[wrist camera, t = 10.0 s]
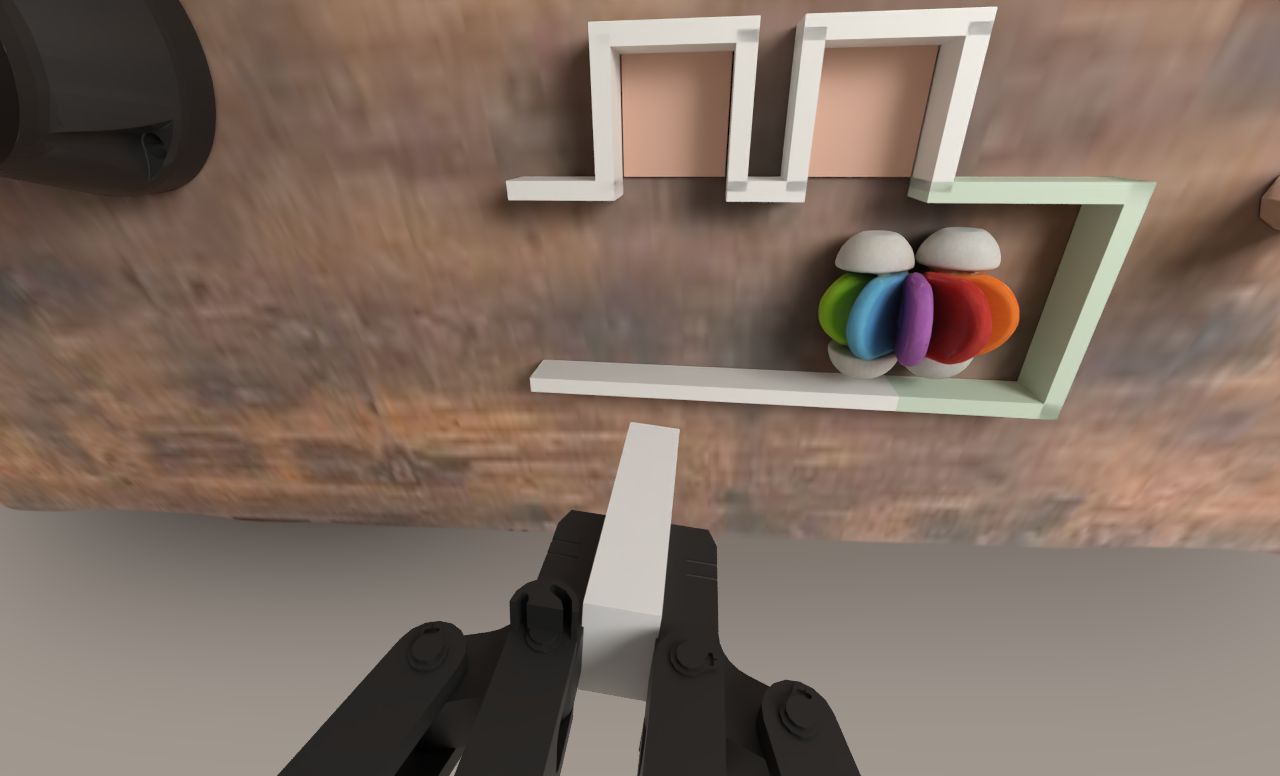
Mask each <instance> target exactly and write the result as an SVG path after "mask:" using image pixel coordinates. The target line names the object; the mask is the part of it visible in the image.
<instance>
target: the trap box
mask: <svg viewBox="0 0 1280 776" xmlns="http://www.w3.org/2000/svg"><path fill="white" fill-rule="evenodd" d="M996 11H997V7H977V8H950V9H923V10H896V11H869V12H842V13H815V14H805V16H804V17H803V18H802V19H801V21H800V22H799V23H798V25H797V26H796V35H795V45H794V54H793V63H792V73H791V82H790V91H789V101H788V110H787V119H786V128H785V138H784V147H783V156H782V166H781V175H780V177H760V176H748V166H749V153H750V141H751V128H752V116H753V104H754V91H755V79H756V66H757V54H758V41H759V29H760V17H761V15H760V16H733V17H706V18H679V19H652V20H625V21H598V22H588V30H589V51H590V73H591V95H592V117H593V139H594V160H595V176H524V177H519V178H515V179H511V180H507V181H506V185H507V194H508V200H552V201H615V200H616V199H618V198H619V197H621V196H622V195H623V160H622V117H621V73H620V55H621V62H622V108H623V153H624V177H725V166H726V149H727V133H728V117H729V101H730V84H731V68H732V52H733V51H734V66H733V82H732V97H731V113H730V129H729V145H728V161H727V177H726V193H725V196H726V202H804V201H805V194H806V186H807V178H808V177H911V180H910V185H909V190H908V194H907V196H909V197H911V198H914V199H917V200H920V201H923V202H926V203H1004V204H1082V205H1081V208H1080V211H1079V214H1078V216H1077V219H1076V222H1075V224H1074V227H1073V230H1072V233H1071V235H1070V238H1069V241H1068V244H1067V246H1066V249H1065V252H1064V255H1063V257H1062V260H1061V263H1060V265H1059V268H1058V271H1057V274H1056V276H1055V279H1054V282H1053V285H1052V287H1051V290H1050V293H1049V295H1048V298H1047V301H1046V304H1045V306H1044V309H1043V312H1042V315H1041V317H1040V320H1039V323H1038V326H1037V328H1036V331H1035V334H1034V336H1033V339H1032V342H1031V345H1030V347H1029V350H1028V353H1027V356H1026V358H1025V361H1024V364H1023V367H1022V369H1021V372H1020V375H1019V377H1018V380H1017V381H1000V380H978V379H956V378H944V379H928V378H923V377H913V376H891V375H881V376H879V377H876V378H872V379H856V378H852V377H849V376H846V375H845V374H843V373H825V372H804V371H782V370H760V369H738V368H716V367H695V366H673V365H651V364H629V363H607V362H585V361H564V360H543V361H542V362H541V363H540V365H539V366H538V367H537V369H536V370H535V371H534V373H533V374H532V375H531V377H530V385H531V392H550V393H568V394H587V395H605V396H624V397H642V398H661V399H680V400H698V401H717V402H735V403H754V404H772V405H791V406H809V407H828V408H847V409H865V410H884V411H902V412H921V413H939V414H958V415H977V416H995V417H1014V418H1032V419H1051V420H1057V418H1058V416H1059V413H1060V411H1061V408H1062V406H1063V404H1064V401H1065V399H1066V397H1067V394H1068V392H1069V389H1070V387H1071V385H1072V382H1073V380H1074V378H1075V375H1076V373H1077V371H1078V368H1079V366H1080V363H1081V361H1082V359H1083V356H1084V354H1085V352H1086V349H1087V347H1088V344H1089V342H1090V340H1091V337H1092V335H1093V333H1094V330H1095V328H1096V325H1097V323H1098V321H1099V318H1100V316H1101V314H1102V311H1103V309H1104V307H1105V304H1106V302H1107V299H1108V297H1109V295H1110V292H1111V290H1112V288H1113V285H1114V283H1115V280H1116V278H1117V276H1118V273H1119V271H1120V269H1121V266H1122V264H1123V261H1124V259H1125V257H1126V254H1127V252H1128V250H1129V247H1130V245H1131V243H1132V240H1133V238H1134V235H1135V233H1136V231H1137V228H1138V226H1139V224H1140V221H1141V219H1142V216H1143V214H1144V212H1145V209H1146V207H1147V205H1148V202H1149V200H1150V197H1151V195H1152V193H1153V190H1154V188H1155V186H1156V183H1157V182H1152V181H1144V180H1136V179H1127V178H1119V177H955V174H956V170H957V166H958V162H959V158H960V154H961V150H962V146H963V142H964V138H965V134H966V130H967V126H968V122H969V118H970V114H971V110H972V106H973V102H974V98H975V95H976V91H977V87H978V83H979V79H980V75H981V71H982V67H983V63H984V59H985V55H986V51H987V47H988V43H989V39H990V35H991V31H992V27H993V23H994V19H995V15H996ZM939 45H940V46H939ZM938 48H939V51H938ZM937 52H938V56H937ZM936 57H937V60H936ZM935 62H936V65H935ZM934 66H935V69H934ZM933 71H934V74H933ZM932 76H933V79H932ZM931 80H932V83H931ZM930 85H931V88H930ZM929 89H930V93H929ZM928 94H929V97H928ZM927 99H928V102H927ZM926 103H927V106H926ZM925 108H926V111H925ZM924 113H925V116H924ZM923 117H924V120H923ZM922 122H923V125H922ZM921 127H922V130H921ZM920 131H921V134H920ZM919 136H920V139H919ZM918 140H919V143H918ZM917 145H918V148H917ZM916 150H917V153H916ZM915 154H916V157H915ZM914 159H915V162H914ZM913 164H914V167H913ZM912 168H913V171H912ZM911 173H912V176H911Z"/></svg>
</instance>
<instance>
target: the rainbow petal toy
mask: <svg viewBox="0 0 1280 776" xmlns="http://www.w3.org/2000/svg"><path fill="white" fill-rule="evenodd" d="M915 260H916V261H917V262H918V263H919V264H923V265H925V266H927V267H929V269H923V270H922V272H921V273H917V272H915V273H908V270H910V269H912V268H913V267H914V264H915ZM1000 262H1001V254H1000V249H999V246H998V244H997V242H996V241H995V239H994V238H993V237H992V236H991V235H990V234H989V233H988V232H987V231H985V230H983V229H978V228H971V227H947V228H943V229H940V230H938V231H936V232H935V233H933V234H932V235H930V236H929V237H928V238H927V239H926V240H925V241H924V242H923V243H922V244H921V246H920V247H919V249H918V251H917V253H916V255H915V259H914V253H913V250H912V248H911V246H910V244H909V243H908V241H907V240H906V239H905V238H904V237H903V236H901V235H900V234H898V233H896V232H892V231H884V230H870V231H863V232H860V233H857V234H856V235H854V236H853V237H851V238H850V239H849V240H848V241H847V242H846V243H845V244H844V245H843V246H842V247H841V249H840V251H839V252H838V255H837V257H836V260H835V265H836V267H838V268H840V269H843V270H846V271H851V272H847V273H845V274H843V275H842V276H841V277H840V278H838V279H837V280H836V281H835V282H834V283H833V284H832V285H831V286H830V287H829V288H828V289H827V290H826V292H825V293H824V295H823V297H822V299H821V301H820V304H819V311H818V316H819V322H820V324H821V326H822V328H823V330H824V331H825V332H826V333H827V334H828V335H829V336H830V337H831V338H832V339H833V340H832V341H831V342H830V343H829V344H828V353H829V357H830V359H831V361H832V363H833V365H834V366H835V367H836V368H837V369H838V370H839V371H840V372H841V373H843V374H845V375H846V376H849V377H852V378H856V379H872V378H876V377H879V376H881V375H883V374H885V373H886V372H888V371H889V370H890V369H891V368H892V367H893V366H894V365H895V363H896V362H897V360H898V362H899V363H900V364H901V365H903V366H905V367H906V368H907V369H908V370H909V371H910V372H912V373H913V374H915V375H917V376H920V377H923V378H928V379H944V378H948V377H951V376H954V375H956V374H958V373H960V372H961V371H962V370H964V369H965V368H966V367H967V366H968V365H969V364H970V362H971V361H972V359H973V357H974V356H978V355H981V354H985V353H987V352H990V351H992V350H994V349H996V348H997V347H999V346H1001V345H1002V344H1003V343H1004V342H1005V341H1006V340H1007V339H1008V338H1009V337H1010V336H1011V335H1012V334H1013V332H1014V331H1015V329H1016V327H1017V325H1018V323H1019V306H1018V302H1017V300H1016V298H1015V296H1014V294H1013V292H1012V291H1011V290H1010V288H1009V287H1008V286H1007V285H1005V284H1004V283H1003V282H1001V281H1000V280H998V279H996V278H995V277H992V276H990V275H987V274H986V273H985V272H987V271H988V270H992V269H995V268H997V267H998V266H999V265H1000Z"/></svg>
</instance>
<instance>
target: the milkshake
mask: <svg viewBox="0 0 1280 776" xmlns="http://www.w3.org/2000/svg"><path fill="white" fill-rule="evenodd" d="M1260 218H1262V219H1263V220H1264V221H1265V222H1266V223H1268V224H1269V225H1270V226H1271V227H1272V228H1274V229H1277V230H1280V176H1279V177H1278V178H1277V179H1276V180H1275V181H1274V183H1273V184H1272V185H1271V186H1270V188H1269V189H1268V190H1267V191H1266V193H1265V194H1264V195H1263V196H1262V198H1261V208H1260Z"/></svg>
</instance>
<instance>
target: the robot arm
mask: <svg viewBox="0 0 1280 776" xmlns="http://www.w3.org/2000/svg"><path fill="white" fill-rule="evenodd" d="M215 121H216V109H215V97H214V89H213V84H212V79H211V75H210V71H209V67H208V64H207V60H206V57H205V54H204V51H203V49H202V46H201V43H200V41H199V39H198V36H197V34H196V32H195V29H194V27H193V25H192V23H191V21H190V19H189V17H188V15H187V14H186V12H185V10H184V8H183V6H182V5H181V3H180V1H179V0H0V176H1V177H6V178H11V179H17V180H22V181H28V182H33V183H39V184H44V185H50V186H55V187H60V188H66V189H71V190H77V191H82V192H88V193H93V194H99V195H106V196H135V195H144V194H153V193H161V192H166V191H170V190H173V189H176V188H178V187H180V186H182V185H184V184H185V183H187V182H188V181H190V180H191V179H192V178H193V177H194V176H195V175H196V174H197V173H198V172H199V170H200V169H201V168H202V166H203V165H204V163H205V161H206V159H207V157H208V155H209V152H210V149H211V146H212V142H213V138H214V132H215ZM679 431H680V429H675V428H668V427H661V426H655V425H648V424H641V423H634V422H630V426H629V430H628V434H627V437H626V441H625V445H624V449H623V453H622V457H621V460H620V464H619V468H618V472H617V476H616V479H615V483H614V487H613V491H612V495H611V499H610V502H609V506H608V510H607V514H606V515H601V514H595V513H588V512H582V511H575V510H571V511H570V512H569V513H568V514H567V515H566V516H565V517H564V518H563V519H562V520H561V521H560V522H559V523H558V526H557V528H556V531H555V534H554V536H553V540H552V542H551V544H550V547H549V550H548V553H547V555H546V558H545V561H544V563H543V566H542V568H541V571H540V574H539V577H538V579H537V580H535V581H532V582H529V583H527V584H525V585H524V586H522V587H521V588H520V589H518V590H517V591H516V592H515V594H514V595H513V597H512V598H511V600H510V625H508V626H506V627H504V628H502V629H499V630H495V631H491V632H486V633H478V634H471V635H463V633H462V631H461V630H460V629H459V628H457V627H456V626H455V625H453V624H451V623H447V622H442V621H436V622H429V623H424V624H422V625H420V626H418V627H415V628H413V629H411V630H410V631H409V632H408V633H407V634H405V635H404V636H403V637H402V638H401V639H400V640H399V641H398V642H397V643H396V644H395V645H394V646H393V647H392V649H391V650H390V651H389V652H388V653H387V654H386V655H385V656H384V657H383V659H382V660H381V661H380V662H379V663H378V664H377V665H376V666H375V668H374V669H373V670H372V671H371V672H370V673H369V674H368V675H367V676H366V677H365V679H364V680H363V681H362V682H361V683H360V684H359V685H358V686H357V687H356V689H355V690H354V691H353V692H352V693H351V694H350V695H349V696H348V698H347V699H346V700H345V701H344V702H343V703H342V704H341V705H340V706H339V708H338V709H337V710H336V711H335V712H334V713H333V714H332V715H331V716H330V718H329V719H328V720H327V721H326V722H325V723H324V724H323V725H322V726H321V728H320V729H319V730H318V731H317V732H316V733H315V734H314V735H313V736H312V738H311V739H310V740H309V741H308V742H307V743H306V744H305V745H304V747H303V748H302V749H301V750H300V751H299V752H298V753H297V754H296V755H295V757H294V758H293V759H292V760H291V761H290V762H289V763H288V764H287V765H286V767H285V768H284V769H283V770H282V771H281V772H280V773H279V774H278V775H277V776H449V775H450V774H451V772H452V770H453V769H454V767H455V765H456V763H457V762H458V761H459V759H460V758H461V759H460V762H459V765H458V767H457V770H456V772H455V775H454V776H560V773H561V768H562V764H563V759H564V755H565V751H566V746H567V742H568V737H569V732H570V728H571V724H572V720H573V705H574V700H575V695H576V691H577V687H578V689H580V690H586V691H592V692H597V693H603V694H609V695H614V696H620V697H625V698H631V699H637V700H642V701H646V710H645V718H644V723H643V729H642V735H641V741H640V747H639V751H640V755H639V765H638V774H637V776H861V775H860V773H859V770H858V768H857V766H856V764H855V761H854V759H853V757H852V754H851V752H850V750H849V748H848V745H847V743H846V741H845V738H844V736H843V733H842V731H841V729H840V727H839V724H838V722H837V720H836V717H835V715H834V713H833V711H832V710H831V708H830V707H829V705H828V703H827V702H826V700H825V699H824V698H823V697H822V696H820V694H818V693H817V692H816V691H815V690H814V689H813V688H811V687H809V686H807V685H805V684H803V683H801V682H797V681H790V680H784V681H780V682H777V683H774V684H772V685H771V686H770V687H769V686H767V685H765V684H763V683H761V682H759V681H757V680H755V679H754V678H752V677H750V676H748V675H746V674H745V673H743V672H741V671H740V670H738V669H737V668H736V667H735V666H734V665H733V664H732V663H731V662H730V661H729V660H728V658H727V657H726V655H725V654H724V652H723V650H722V647H721V645H720V642H719V635H718V591H717V589H718V588H717V546H716V544H715V542H714V540H713V538H712V536H711V534H710V532H709V530H705V529H699V528H692V527H686V526H679V525H673V524H671V515H672V504H673V494H674V484H675V473H676V463H677V452H678V442H679ZM461 756H462V757H461Z"/></svg>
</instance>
